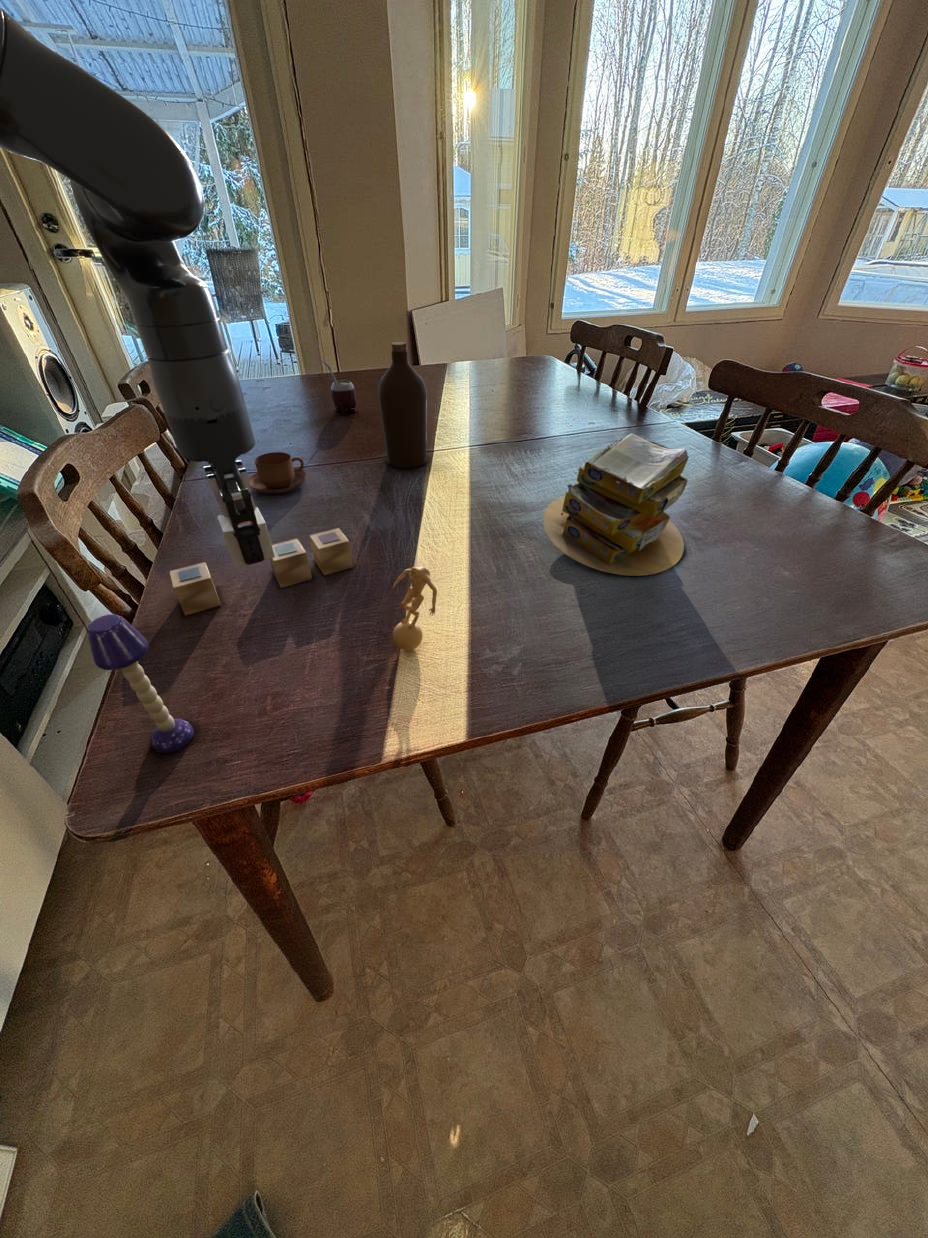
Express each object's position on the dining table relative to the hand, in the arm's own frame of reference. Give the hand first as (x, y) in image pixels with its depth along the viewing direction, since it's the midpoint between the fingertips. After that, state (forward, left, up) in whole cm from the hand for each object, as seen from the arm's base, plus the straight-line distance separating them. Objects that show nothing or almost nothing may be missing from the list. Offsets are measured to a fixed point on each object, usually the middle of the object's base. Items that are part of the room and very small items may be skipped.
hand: (250, 551), depth 61 cm
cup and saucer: (+13, +51, -15) cm, 55 cm away
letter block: (0, 0, 0) cm, 0 cm away
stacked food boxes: (+59, -2, -15) cm, 61 cm away
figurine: (+16, -10, -15) cm, 24 cm away
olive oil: (+43, +50, -15) cm, 68 cm away
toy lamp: (-15, -10, -15) cm, 23 cm away
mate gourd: (+43, +94, -15) cm, 105 cm away
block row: (+3, +15, -15) cm, 21 cm away
